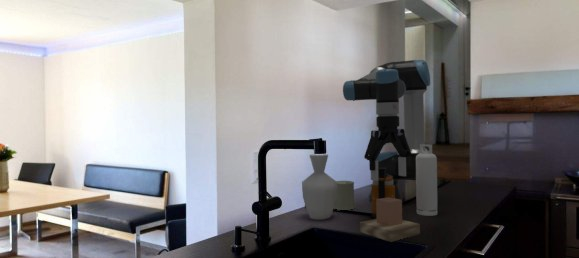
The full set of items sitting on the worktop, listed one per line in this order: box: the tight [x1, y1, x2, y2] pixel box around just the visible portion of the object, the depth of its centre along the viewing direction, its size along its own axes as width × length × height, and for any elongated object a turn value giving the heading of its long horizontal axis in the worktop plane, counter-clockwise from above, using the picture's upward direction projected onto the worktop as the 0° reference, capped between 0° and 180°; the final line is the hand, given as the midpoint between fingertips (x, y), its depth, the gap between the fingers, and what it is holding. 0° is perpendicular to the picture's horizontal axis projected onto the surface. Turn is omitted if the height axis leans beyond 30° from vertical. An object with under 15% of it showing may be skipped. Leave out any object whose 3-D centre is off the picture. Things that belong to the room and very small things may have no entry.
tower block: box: [376, 197, 403, 226], centre depth 134 cm, size 6×6×8 cm
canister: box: [370, 167, 395, 219], centre depth 153 cm, size 9×11×20 cm
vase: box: [301, 153, 337, 221], centre depth 158 cm, size 14×14×25 cm
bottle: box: [415, 143, 438, 217], centre depth 160 cm, size 8×8×28 cm
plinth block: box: [359, 218, 421, 243], centre depth 134 cm, size 14×14×4 cm
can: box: [333, 180, 355, 211], centre depth 173 cm, size 9×9×12 cm
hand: (388, 178), depth 134 cm, fingers open, 13 cm apart
